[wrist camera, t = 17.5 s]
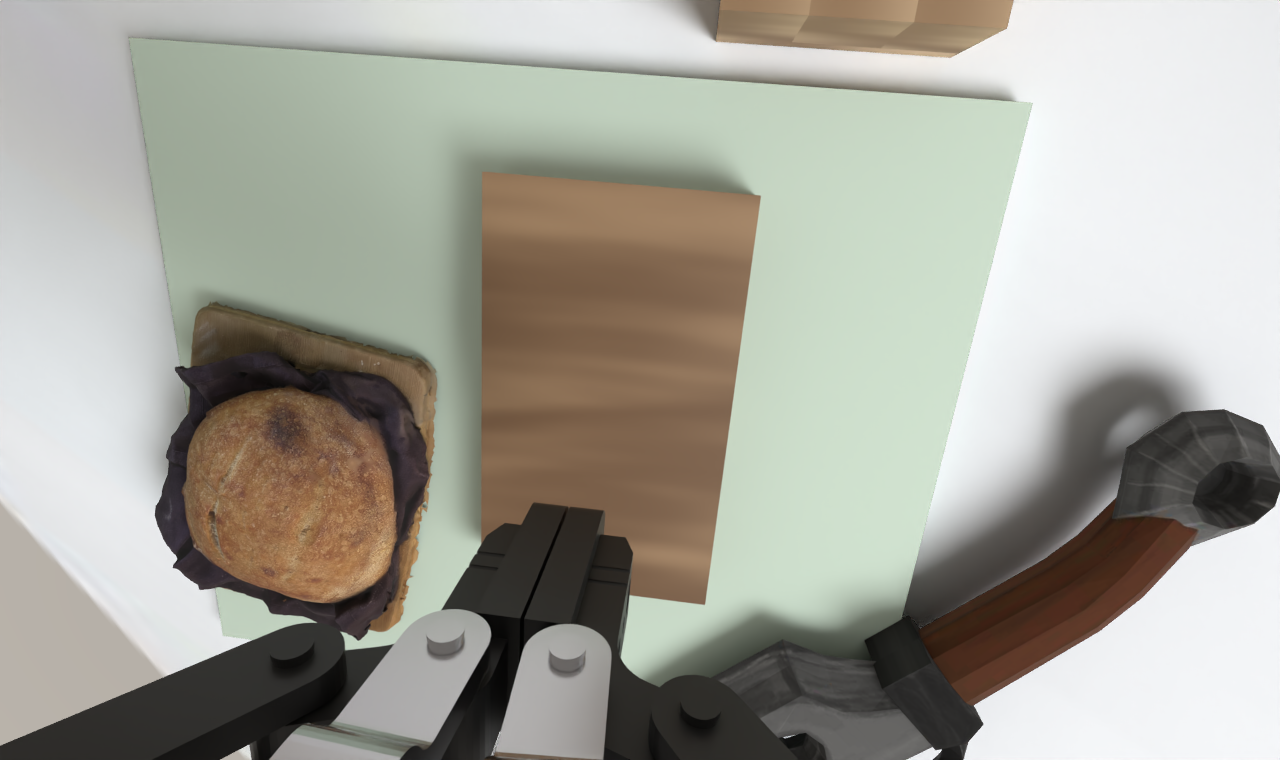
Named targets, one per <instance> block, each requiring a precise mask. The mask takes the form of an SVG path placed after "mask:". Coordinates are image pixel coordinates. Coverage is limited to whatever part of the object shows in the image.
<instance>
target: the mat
mask: <svg viewBox="0 0 1280 760" xmlns="http://www.w3.org/2000/svg"><path fill="white" fill-rule="evenodd" d="M129 44H130V50H131V56H132V63H133V69H134V75H135V82H136V88H137V94H138V101H139V107H140V113H141V120H142V126H143V132H144V139H145V145H146V151H147V158H148V164H149V170H150V177H151V183H152V189H153V196H154V202H155V208H156V215H157V221H158V227H159V234H160V240H161V246H162V253H163V259H164V265H165V272H166V278H167V284H168V291H169V297H170V303H171V310H172V316H173V322H174V329H175V335H176V341H177V348H178V354H179V360H180V366H184V367H185V368H190V364H191V353H192V349H191V347H192V341H193V331H194V324H195V317H196V315H197V313H198V311H199V310H200V309H201V308H203V307H206V306H208V304H209V303H210V301H211V303H212V302H216V301H217V302H218V303H219V304H220V305H223V306H225V305H227V306H229V307H232V308H233V309H241V310H246V311H249V312H252V313H255V314H256V315H257V314H260V315H262V316H267V317H271V318H275V319H277V320H278V321H279V320H283V321H287V322H292V323H294V324H296V325H301V326H304V327H306V328H308V329H310V330H312V331H317V332H319V333H326V335H334V336H341V337H345V338H346V339H347V340H350V341H355V342H358V343H363V346H366V345H372V346H375V347H376V348H382V349H387V350H388V352H389V353H390V354H391V353H393V354H394V353H397V355H399V354H400V355H404V356H411V355H413V356H412V358H413V360H415V358H416V357H419V358H421V359H423V360H424V361H425V362H427V361H428V362H429V363H430V365H431V366H432V368H433V369H435V370H436V373H435V374H436V377H437V392H436V398H437V401H436V402H434V408H435V410H436V413H435V417H434V420H433V422H434V434H433V437H434V440H435V442H434V444H435V447H434V449H433V451H434V454H433V456H432V459H431V460H432V461H433V462H432V463H431V467H430V473H431V474H432V476H431V479H430V483H429V488H427V492H429V500H428V505H427V503H426V502H425V503H423V505H422V507H423V508H427V506H428V508H427V512H426V511H424V510H422V513H421V516H422V521H421V522H419V524H420V530H419V534H418V535H417V536H416V537H415V538H416V539H417V541H418V542H419V544H418V547H417V548H416V549H417V551H418V552H419V554H418V558H417V561H416V562H415V563H414V564H413V565H412V567H411V573H410V576H412V577H411V578H409V579H408V580H407V582H406V585H407V586H409V588H408V593H407V595H405V596H407V597H406V599H405V601H404V602H403V604H402V605H403V607H404V612H403V615H402V616H401V620H400V621H399V622H398V623H396V624H395V625H394V626H393V627H392V628H390V629H389V630H387V631H385V632H376V631H372V630H368V633H367V634H366V635H365V636H364V637H363V638H362V639H361V640H359V641H358V640H356V638H354V637H353V636H351V635H348V634H347V633H344V632H341V633H342V635H343V637H344V641H345V650H353V649H361V648H370V647H379V646H386V645H391V644H395V643H396V641H397V640H398V639H399V638H400V636H401V635H402V634H403V632H404V631H405V630H406V629H407V628H408V627H409V626H410V625H411V624H412V623H413V622H415V621H416V620H418V619H419V618H421V617H423V616H425V615H427V614H430V613H433V612H436V611H441V609H442V608H443V606H444V604H445V603H446V601H447V600H448V598H449V596H450V595H451V593H452V591H453V590H454V588H455V586H456V585H457V583H458V582H459V580H460V578H461V577H462V575H463V573H464V572H465V570H466V568H467V567H469V564H470V562H471V560H472V559H473V557H474V555H475V554H477V550H478V549H479V547H480V546H481V415H482V172H495V173H507V174H518V175H530V176H542V177H553V178H565V179H576V180H588V181H599V182H611V183H623V184H634V185H646V186H657V187H669V188H680V189H692V190H704V191H715V192H727V193H738V194H750V195H760V196H761V200H760V208H759V215H758V222H757V229H756V237H755V244H754V251H753V259H752V266H751V273H750V281H749V288H748V295H747V302H746V310H745V317H744V324H743V332H742V339H741V346H740V354H739V361H738V368H737V375H736V383H735V390H734V397H733V405H732V412H731V419H730V427H729V434H728V441H727V448H726V456H725V463H724V470H723V478H722V485H721V492H720V500H719V507H718V514H717V521H716V529H715V536H714V543H713V551H712V558H711V565H710V573H709V580H708V587H707V594H706V602H705V605H701V604H693V603H685V602H678V601H670V600H662V599H654V598H646V597H639V596H631V595H630V596H629V607H628V617H627V623H626V629H625V634H624V641H623V647H622V653H621V659H622V661H623V663H624V664H625V665H626V667H627V668H628V669H629V670H630V671H631V672H632V673H633V674H635V675H636V676H638V677H639V678H641V679H643V680H645V681H647V682H649V683H651V684H653V685H656V686H658V687H660V686H661V685H663V684H664V683H665V682H667V681H669V680H670V679H673V678H675V677H678V676H683V675H701V676H706V677H710V678H711V677H713V676H715V675H717V674H719V673H721V672H723V671H724V670H726V669H728V668H730V667H732V666H734V665H736V664H737V663H739V662H741V661H743V660H745V659H747V658H749V657H750V656H752V655H754V654H756V653H758V652H760V651H762V650H763V649H765V648H767V647H769V646H771V645H773V644H775V643H777V642H778V641H780V640H782V639H783V640H786V641H788V642H791V643H793V644H796V645H799V646H801V647H804V648H806V649H809V650H811V651H814V652H817V653H819V654H822V655H826V656H833V657H841V658H848V659H856V660H868V661H872V660H871V657H870V655H869V652H868V649H867V646H866V644H865V641H864V640H866V639H867V638H869V637H871V636H873V635H875V634H876V633H878V632H880V631H882V630H884V629H885V628H887V627H889V626H891V625H892V624H894V623H896V622H898V621H900V620H901V619H902V615H903V611H904V607H905V603H906V600H907V596H908V592H909V588H910V584H911V580H912V576H913V572H914V568H915V564H916V560H917V556H918V552H919V548H920V544H921V541H922V537H923V533H924V529H925V525H926V521H927V517H928V513H929V509H930V505H931V501H932V497H933V493H934V489H935V485H936V482H937V478H938V474H939V470H940V466H941V462H942V458H943V454H944V450H945V446H946V442H947V438H948V434H949V430H950V426H951V423H952V419H953V415H954V411H955V407H956V403H957V399H958V395H959V391H960V387H961V383H962V379H963V375H964V371H965V367H966V363H967V360H968V356H969V352H970V348H971V344H972V340H973V336H974V332H975V328H976V324H977V320H978V316H979V312H980V308H981V304H982V301H983V297H984V293H985V289H986V285H987V281H988V277H989V273H990V269H991V265H992V261H993V257H994V253H995V249H996V245H997V242H998V238H999V234H1000V230H1001V226H1002V222H1003V218H1004V214H1005V210H1006V206H1007V202H1008V198H1009V194H1010V190H1011V186H1012V183H1013V179H1014V175H1015V171H1016V167H1017V163H1018V159H1019V155H1020V151H1021V147H1022V143H1023V139H1024V135H1025V131H1026V127H1027V124H1028V120H1029V116H1030V112H1031V108H1032V104H1033V103H1027V102H1014V101H1000V100H986V99H972V98H958V97H945V96H931V95H917V94H903V93H889V92H876V91H862V90H848V89H834V88H820V87H807V86H793V85H779V84H765V83H751V82H738V81H724V80H710V79H696V78H682V77H669V76H655V75H641V74H627V73H613V72H599V71H586V70H572V69H558V68H544V67H530V66H517V65H503V64H489V63H475V62H461V61H448V60H434V59H420V58H406V57H392V56H379V55H365V54H351V53H337V52H323V51H310V50H296V49H282V48H268V47H254V46H241V45H227V44H213V43H199V42H185V41H172V40H158V39H144V38H130V37H129ZM183 386H184V392H185V398H186V405H187V411H188V403H189V396H190V389H189V387H188V386H187V385H186V384H185V383H184V382H183ZM216 595H217V601H218V607H219V614H220V620H221V626H222V633H223V636H228V637H236V638H243V639H250V640H255V639H257V638H259V637H262V636H264V635H266V634H269V633H271V632H274V631H276V630H279V629H281V628H284V627H287V626H291V625H295V624H301V623H317V622H315V621H313V620H311V619H308V618H306V617H303V616H292V615H286V616H285V615H276V614H272V613H270V612H269V609H268V607H267V605H266V604H265V603H264V601H262V600H260V599H257V598H253V597H250V596H247V595H246V594H243V593H238V592H234V591H232V590H228V589H224V588H221V587H218V588H216Z"/></svg>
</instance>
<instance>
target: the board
mask: <svg viewBox="0 0 1280 760" xmlns="http://www.w3.org/2000/svg"><path fill="white" fill-rule="evenodd" d="M760 200H761V196H760V195H750V194H738V193H727V192H715V191H704V190H692V189H680V188H669V187H657V186H646V185H634V184H623V183H611V182H599V181H588V180H576V179H565V178H553V177H542V176H530V175H518V174H507V173H495V172H482V415H481V544H482V542H483V541H484V539H485V537H486V536H487V535H488V534H489V533H491V532H492V531H494V530H495V529H497V528H498V527H500V526H501V525H503V524H504V523H510V524H518V525H521V524H522V522H523V520H524V519H525V517H526V515H527V513H528V511H529V509H530V507H531V505H532V504H533V503H534V502H536V503H545V504H553V505H561V506H568V507H569V508H570V507H579V508H588V509H596V510H604V511H605V526H604V535H611V536H619V537H626V539H627V541H628V543H629V545H630V547H631V549H632V551H633V562H632V573H631V585H630V595H631V596H639V597H646V598H654V599H662V600H670V601H678V602H685V603H693V604H701V605H705V602H706V594H707V587H708V580H709V573H710V565H711V558H712V551H713V543H714V536H715V529H716V521H717V514H718V507H719V500H720V492H721V485H722V478H723V470H724V463H725V456H726V448H727V441H728V434H729V427H730V419H731V412H732V405H733V397H734V390H735V383H736V375H737V368H738V361H739V354H740V346H741V339H742V332H743V324H744V317H745V310H746V302H747V295H748V288H749V281H750V273H751V266H752V259H753V251H754V244H755V237H756V229H757V222H758V215H759V208H760Z"/></svg>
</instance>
